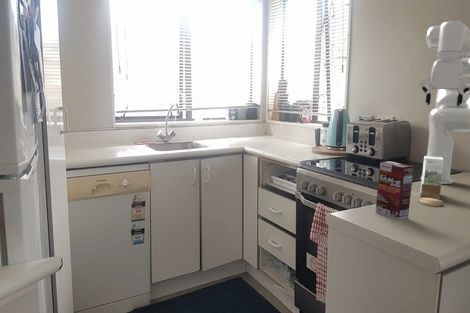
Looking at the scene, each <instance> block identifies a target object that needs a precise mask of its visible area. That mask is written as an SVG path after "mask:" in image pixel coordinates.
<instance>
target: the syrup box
mask: <svg viewBox="0 0 470 313" xmlns="http://www.w3.org/2000/svg"><path fill="white" fill-rule="evenodd" d="M443 163H444V160H443V158H442V157H436V156H427V155H424V157H423V163H422V164H423V165H422V172H421V173H422V174H421V176H422V180H421V183H420V191H419V193H420V194H421V188H422V184H430V185H439V186H441V187H442V184H441V179H442V171H443Z"/></svg>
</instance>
